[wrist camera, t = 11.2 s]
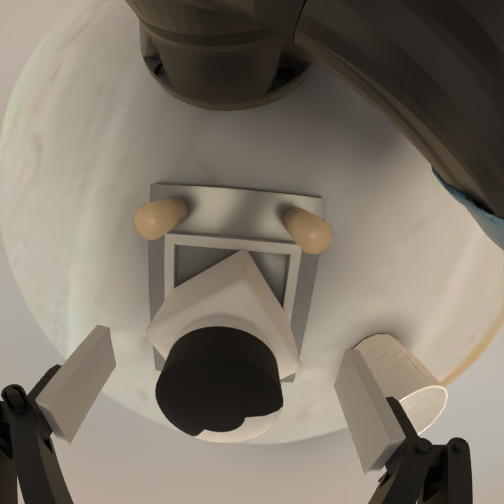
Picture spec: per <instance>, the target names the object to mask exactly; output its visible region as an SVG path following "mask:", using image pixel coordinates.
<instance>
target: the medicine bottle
mask: <svg viewBox="0 0 504 504" xmlns="http://www.w3.org/2000/svg"><path fill="white" fill-rule="evenodd" d="M146 337H147V338H148V339H149V341H150V342H151V343H152V344H153V346H154V347H155V348H156V349H157V351H158V352H159V353H160V354H161V355H162V357H163V358H164V359H165V360H166V362H165V364H164V367H163V369H162V371H161V374H160V376H159V379H158V382H157V384H156V390H155V393H156V400H157V403H158V405H159V407H160V409H161V411H162V412H163V414H164V415H165V416H166V418H167V419H168V420H169V421H170V422H171V423H172V424H173V425H174V426H176V427H177V428H178V429H180V430H181V431H183V432H185V433H187V434H189V435H191V436H193V437H196V438H199V439H203V440H207V441H213V442H238V441H243V440H247V439H250V438H253V437H255V436H257V435H259V434H261V433H263V432H264V431H265V430H267V429H268V428H269V427H270V426H271V425H272V424H273V423H274V422H275V421H276V420H277V419H278V417H279V416H280V413H281V411H282V408H283V396H282V390H281V383H280V380H281V379H283V378H285V377H287V376H289V375H291V374H294V373H296V372H298V371H299V370H300V369H301V366H302V365H301V362H300V358H299V354H298V351H297V347H296V344H295V340H294V337H293V333H292V330H291V327H290V323H289V320H288V317H287V315H286V313H285V312H284V310H283V308H282V307H281V305H280V303H279V302H278V300H277V298H276V297H275V295H274V294H273V292H272V290H271V289H270V287H269V285H268V284H267V282H266V280H265V279H264V277H263V275H262V274H261V272H260V270H259V269H258V267H257V265H256V264H255V262H254V260H253V259H252V257H251V255H250V254H249V252H248V251H247V250H245V249H242V250H240V251H238V252H236V253H235V254H233V255H231V256H229V257H228V258H226V259H224V260H222V261H221V262H219V263H217V264H216V265H214V266H212V267H210V268H209V269H207V270H205V271H203V272H202V273H200V274H198V275H196V276H195V277H193V278H191V279H189V280H188V281H186V282H184V283H182V284H181V285H179V286H177V287H176V288H174V289H172V290H171V292H170V293H169V295H168V296H167V298H166V299H165V301H164V303H163V304H162V306H161V307H160V309H159V311H158V312H157V314H156V315H155V317H154V319H153V320H152V322H151V323H150V325H149V327H148V328H147V330H146Z"/></svg>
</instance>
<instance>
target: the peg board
mask: <svg viewBox="0 0 504 504" xmlns="http://www.w3.org/2000/svg"><path fill="white" fill-rule="evenodd" d="M325 205H326V199H323V198H317V197H309V196H301V195H293V194H284V193H275V192H266V191H256V190H245V189H233V188H220V187H206V186H190V185H170V184H151V188H150V203H147V204H144V205H142V206H140V207H139V208H138V209H137V211H136V213H135V215H134V227H135V230H136V231H137V233H138V234H139V235H140V236H141V237H142V238H144V239H147V240H149V292H150V312H151V322H152V320H153V319H154V317H155V315H156V314H157V312H158V311H159V309H160V307H161V306H162V304H163V303H164V301H165V299H166V298H167V296H168V295H169V293H170V292H171V290H172V289H174V288H176V287H177V286H179V285H181V284H182V283H184V282H186V281H188V280H189V279H191V278H193V277H195V276H196V275H198V274H200V273H202V272H203V271H205V270H207V269H209V268H210V267H212V266H214V265H216V264H217V263H219V262H221V261H222V260H224V259H226V258H228V257H229V256H231V255H233V254H235V253H236V252H238V251H240V250H242V249H245V250H247V251H248V252H249V254H250V255H251V257H252V259H253V260H254V262H255V264H256V265H257V267H258V269H259V270H260V272H261V274H262V275H263V277H264V279H265V280H266V282H267V284H268V285H269V287H270V289H271V290H272V292H273V294H274V295H275V297H276V298H277V300H278V302H279V303H280V305H281V307H282V308H283V310H284V312H285V313H286V315H287V317H288V320H289V323H290V327H291V330H292V333H293V337H294V340H295V344H296V347H297V351H298V354H299V355H300V351H301V346H302V342H303V337H304V332H305V327H306V322H307V317H308V312H309V307H310V302H311V296H312V291H313V285H314V279H315V274H316V268H317V261H318V255H319V253H321V252H323V251H324V250H326V249H327V248H328V246H329V245H330V243H331V240H332V229H331V227H330V225H329V224H328V223H327V222H326V221H325V220H324V213H325ZM153 350H154V360H155V368H156V370H159V371H162V369H163V367H164V364H165V362H166V360H165V359H164V358H163V357H162V355H161V354H160V353H159V352H158V351H157V349H156V348H155V347H154V346H153ZM294 377H295V373H294V374H291V375H289V376H287V377H285V378H283V379H281V380H280V382H293V381H294Z"/></svg>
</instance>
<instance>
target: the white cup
mask: <svg viewBox="0 0 504 504" xmlns="http://www.w3.org/2000/svg"><path fill="white" fill-rule="evenodd" d="M356 349H359V351H360V353H361V355H362V356H363V358H364V360H365V362H366V364H367V365H368V367H369V369H370V371H371V372H372V374H373V376H374V378H375V380H376V382H377V383H378V385H379V387H380V389H381V391H382V393H383V394H384V396H385V397H392V396H393V397H394V398H395V399H396V400H397V401H399V402H400V404H401V406H402V407H403V409H404V411H405V413H406V414H407V417H408V418H409V420H410V421H411V423H412V425H413V427H414V429H415V431H416V432H417V434H418V435H419V434H420V433H422V432H423V431H424V430H426V429H427V428H428V427H429V426H430V425H431V424H432V423H433V422H434V421H435V420H436V419H437V418H438V416H439V415H440V414H441V412H442V411H443V409H444V407H445V405H446V402H447V398H448V392H447V390H446V388H445V387H444V386H443V385H442V384H441V383H440V382H439V381H438V380H437V379H436V378H435V377H434V376H433V375H432V373H431V372H430V371H429V370H428V369H427V368H426V367H425V366H424V365H423V364H422V363H421V362H420V361H419V360H418V359H417V358H416V357H415V356H414V355H413V354H412V353H411V352H410V351H409V350H408V349H407V348H405V347H404V346H403V345H402V344H401V343H400V342H399V341H398V340H397V339H396V338H394V337H392V336H391V335H389V334H376V335H374V336H371V337H369V338H366V339H364V340H363V341H362V342H360V343H359V344H358V345H357V346H356V347H355V348H353V350H356Z"/></svg>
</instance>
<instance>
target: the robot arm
mask: <svg viewBox="0 0 504 504" xmlns="http://www.w3.org/2000/svg"><path fill="white" fill-rule="evenodd" d="M125 1H126V2H127V3H128V4H129V6H130V7H131V8H132V10H133V11H134V12H135V13H136V15H137V16H138V18H139V20H140V40H141V51H142V56H143V59H144V61H145V64H146V66H147V68H148V70H149V71H150V73H151V74H152V75H153V77H154V78H155V79H156V80H157V81H158V82H159V83H160V84H161V85H162V86H163V88H164V89H166V90H167V91H168V92H169V93H170V94H172V95H173V96H175V97H176V98H178V99H180V100H182V101H184V102H186V103H189V104H191V105H194V106H198V107H201V108H206V109H212V110H242V109H249V108H253V107H257V106H261V105H264V104H267V103H270V102H272V101H274V100H277V99H279V98H281V97H282V96H284V95H286V94H287V93H289V92H290V91H292V90H293V89H294V88H295V87H297V86H298V85H299V84H300V83H301V82H302V81H303V80H304V78H305V77H306V76H307V75H308V73H309V71H310V70H311V68H312V67H313V65H314V63H315V62H316V61H317V62H319V63H320V64H321V65H323V66H324V67H326V68H327V69H328V70H330V71H331V72H332V73H334V74H335V75H337V76H338V77H339V78H340V79H342V80H343V81H344V82H346V83H347V84H348V85H349V86H351V87H352V88H353V89H354V90H356V91H357V92H358V93H359V94H360V95H362V96H363V97H364V98H365V99H366V100H367V101H369V102H370V103H371V104H372V105H373V106H374V107H375V108H376V109H378V110H379V111H380V112H381V113H382V114H383V115H384V116H385V117H386V118H387V119H388V120H389V121H390V122H391V123H392V124H394V125H395V126H396V127H397V128H398V129H399V130H400V131H401V132H402V133H403V134H404V136H405V137H406V138H407V139H408V140H409V141H410V142H411V143H412V144H413V145H414V146H415V147H416V148H417V149H418V150H419V152H420V153H421V154H422V155H423V156H424V157H425V158H426V159H427V161H428V162H429V163H430V164H431V166H432V171H433V173H434V174H435V176H436V177H437V179H438V181H439V182H440V183H441V184H442V185H443V186H444V187H445V189H446V190H447V191H448V192H449V194H451V195H452V196H453V197H454V198H455V199H456V200H457V201H458V202H460V203H461V204H462V205H464V206H465V207H466V208H467V210H468V211H469V212H470V214H471V215H472V216H473V217H474V219H475V220H476V221H477V223H478V224H479V226H480V227H481V229H482V230H483V231H484V232H485V233H486V235H487V236H488V237H489V238H490V239H491V240H492V241H493V242H494V243H495V244H497V245H498V246H499V247H500V248H501V249H503V250H504V0H125ZM115 366H116V362H115V357H114V352H113V347H112V342H111V336H110V330H109V327H105V326H101V325H97V326H96V327H95V328H94V330H93V331H92V332H91V333H90V334H89V335H88V336H87V337H86V339H85V340H84V341H83V342H82V343H81V344H80V345H79V347H78V348H77V349H76V350H75V351H74V352H73V354H72V355H71V356H70V357H69V358H68V359H67V361H66V362H65V363H64V364H63V365H62V366H60V365H55V366H54V367H52V368H50V369H49V370H48V371H47V372H46V373H45V375H44V376H43V377H42V378H41V379H40V381H39V382H38V383H37V384H36V385H35V387H34V388H33V389H32V390H31V391H30V393H29V394H28V395H26V393H25V391H24V389H23V388H22V387H21V386H20V385H17V384H12V385H8V386H7V387H5V388H4V389H3V391H2V393H1V396H2V398H3V400H4V401H0V504H18V497H17V476H18V480H19V484H20V488H21V492H22V495H23V499H24V502H25V504H74V503H73V501H72V499H71V496H70V494H69V491H68V489H67V486H66V484H65V481H64V478H63V475H62V472H61V469H60V466H59V463H58V460H57V457H56V453H55V450H54V446H53V443H52V439H51V437H50V435H51V433H52V432H53V433H54V434H55V436H56V438H57V439H59V440H61V441H63V442H66V443H68V444H70V443H71V441H72V440H73V438H74V436H75V434H76V432H77V430H78V429H79V427H80V425H81V423H82V422H83V420H84V418H85V416H86V415H87V413H88V411H89V409H90V408H91V406H92V404H93V402H94V401H95V399H96V397H97V396H98V394H99V392H100V391H101V389H102V387H103V386H104V384H105V382H106V381H107V379H108V378H109V376H110V374H111V373H112V371H113V369H114V368H115ZM334 387H335V390H336V393H337V396H338V398H339V401H340V404H341V407H342V410H343V412H344V415H345V418H346V421H347V424H348V427H349V429H350V432H351V435H352V438H353V441H354V444H355V447H356V450H357V453H358V456H359V459H360V462H361V465H362V468H363V471H364V474H365V475H366V474H370V473H375V472H379V471H380V470H381V469H382V468H383V467H384V465H385V467H386V469H387V471H386V473H385V474H384V475H383V476H382V477H381V478H380V479H379V481H378V482H380V481H381V482H380V484H379V485H378V487H377V489H376V491H375V493H374V494H373V496H372V498H371V500H370V501H369V503H368V504H416V502H417V504H473V499H472V498H473V496H472V495H473V494H472V471H471V459H470V449H469V445H468V443H467V442H466V441H465V440H464V439H462V438H458V437H456V438H452V439H451V440H450V441H449V442H448V443H447V444H446V445H432V443H431V442H430V441H428V440H427V439H425V438H420V437H419V436H418V434H417V432H416V431H415V429H414V427H413V425H412V423H411V421H410V420H409V418H408V417H407V414H406V413H405V411H404V409H403V407H402V406H401V404H400V402H399V401H397V400H396V399H395V398H394V397H393V396H392V397H385V396H384V394H383V393H382V391H381V389H380V387H379V385H378V383H377V382H376V380H375V378H374V376H373V374H372V372H371V371H370V369H369V367H368V365H367V364H366V362H365V360H364V358H363V356H362V355H361V353H360V351H359V349H356V350H346V352H345V355H344V358H343V361H342V364H341V367H340V370H339V373H338V376H337V379H336V382H335V385H334ZM417 499H418V501H417Z"/></svg>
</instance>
